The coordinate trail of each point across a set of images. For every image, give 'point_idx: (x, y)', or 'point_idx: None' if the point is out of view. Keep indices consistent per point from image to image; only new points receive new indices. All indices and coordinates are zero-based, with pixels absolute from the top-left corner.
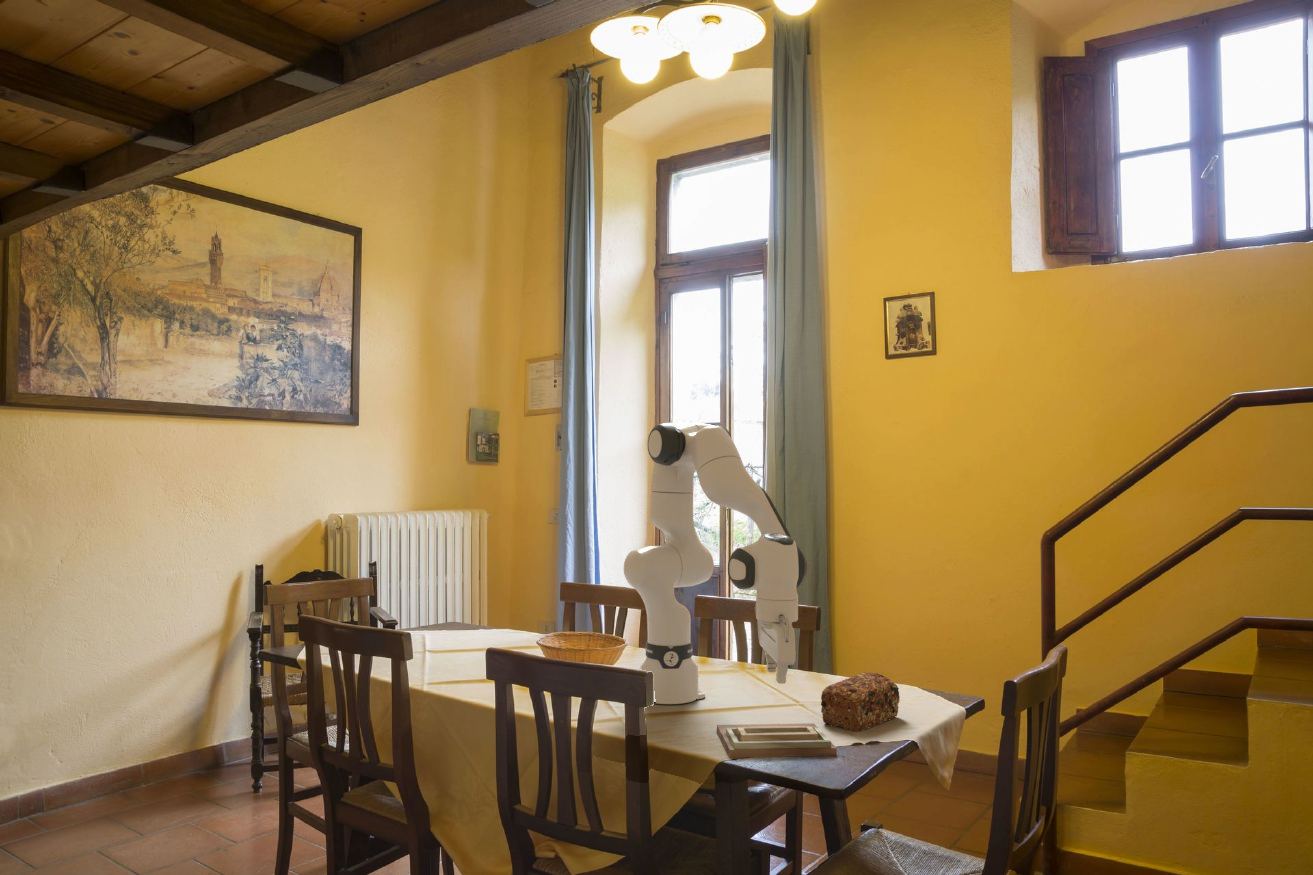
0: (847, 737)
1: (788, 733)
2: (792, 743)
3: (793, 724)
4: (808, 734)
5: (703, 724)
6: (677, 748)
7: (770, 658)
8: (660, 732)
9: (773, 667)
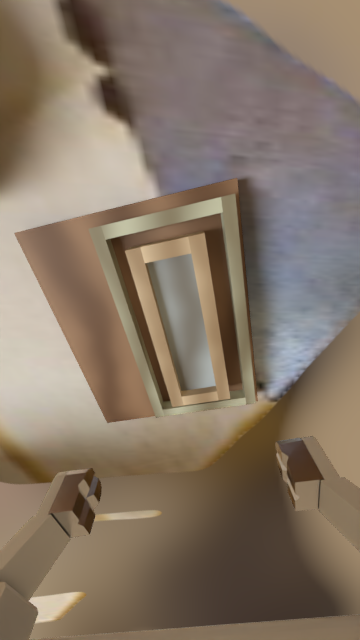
0: (56, 129)
1: (208, 311)
2: (245, 298)
3: (48, 287)
4: (208, 260)
5: (74, 430)
6: (211, 452)
7: (35, 562)
8: (137, 472)
9: (84, 498)
